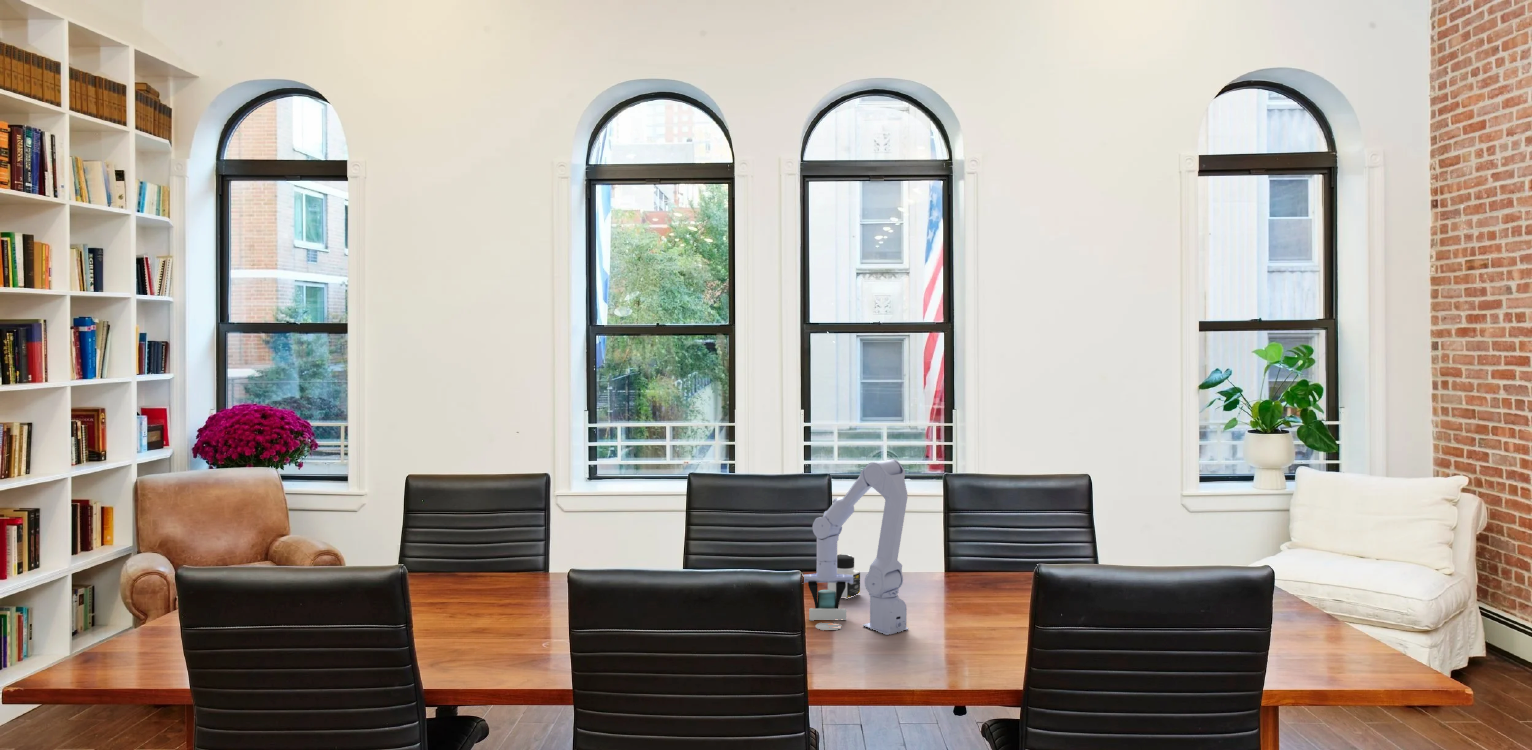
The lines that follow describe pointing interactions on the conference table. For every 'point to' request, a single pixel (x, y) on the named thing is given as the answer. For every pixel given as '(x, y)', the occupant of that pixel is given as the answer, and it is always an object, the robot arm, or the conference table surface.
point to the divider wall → (826, 614)
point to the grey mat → (827, 626)
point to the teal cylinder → (827, 599)
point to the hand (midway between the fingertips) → (826, 608)
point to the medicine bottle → (847, 568)
